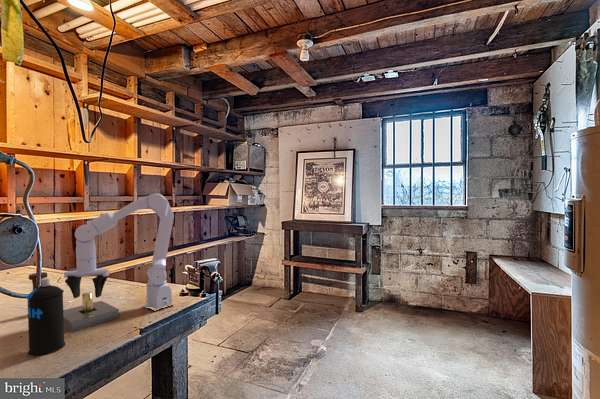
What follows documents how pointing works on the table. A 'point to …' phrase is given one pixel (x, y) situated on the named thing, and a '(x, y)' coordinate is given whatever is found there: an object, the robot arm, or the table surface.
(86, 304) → the brass pin
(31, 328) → the aerosol can
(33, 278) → the bolt
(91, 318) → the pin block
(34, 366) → the table surface
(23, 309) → the table surface
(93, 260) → the robot arm
